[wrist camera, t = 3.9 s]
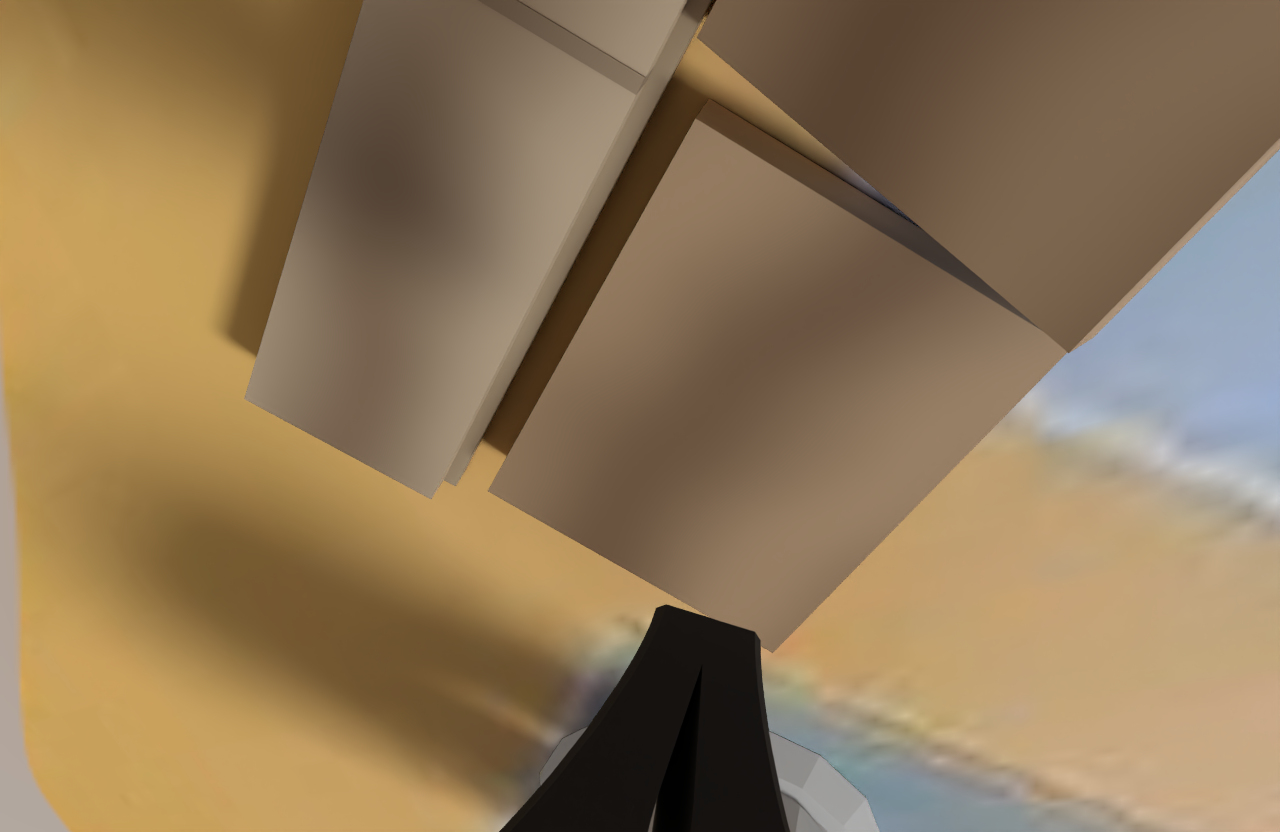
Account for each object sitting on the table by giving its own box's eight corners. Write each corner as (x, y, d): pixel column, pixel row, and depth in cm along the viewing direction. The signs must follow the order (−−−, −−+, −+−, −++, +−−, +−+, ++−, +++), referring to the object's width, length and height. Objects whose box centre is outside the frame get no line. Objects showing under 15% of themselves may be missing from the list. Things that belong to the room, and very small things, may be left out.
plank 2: (1061, 315, 16) (1071, 348, 15) (779, 613, 21) (772, 652, 20) (709, 98, 16) (695, 118, 15) (507, 458, 21) (487, 491, 20)
